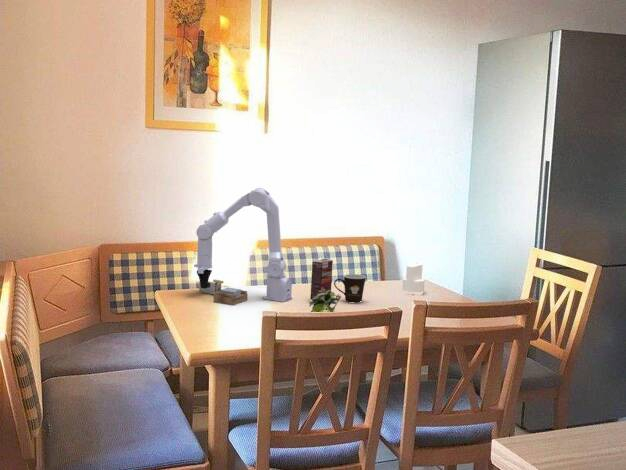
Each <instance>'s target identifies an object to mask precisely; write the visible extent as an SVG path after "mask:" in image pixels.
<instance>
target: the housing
mask: <svg viewBox="0 0 626 470" xmlns="http://www.w3.org/2000/svg"><path fill="white" fill-rule="evenodd" d="M248 297H249V296H248V291H247V290H242V289H241V295H238V296H236V295H234V294H227V293H221V292H214V294H213V301H212V302H213V303H216V304H224V305H228V306H237V305H238V304H241V303H244V302H246V301H248Z"/></svg>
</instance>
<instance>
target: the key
mask: <svg viewBox="0 0 626 470" xmlns="http://www.w3.org/2000/svg"><path fill="white" fill-rule="evenodd" d="M222 284H224V280H220V279H213V280H212V281H209V280H208V285H207V288H206V289H205V288H201V286H200V280H199V284H198V285H199V286H198V291H199V293H204V294H211V295H214V292H221V290H222Z"/></svg>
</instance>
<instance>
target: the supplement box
mask: <svg viewBox="0 0 626 470" xmlns="http://www.w3.org/2000/svg"><path fill="white" fill-rule="evenodd" d="M333 263H334V261H333V259H326V258H322V259H318V260H312V263H311V264H312V265H311V282H310V296H309V297H310V298H309V300H312V299H313V298H315V296H317V295H318V294H317V291H318V290H319V291H321V290H322V289H324V290H327V291H328V290H331V291H332V281H333V280H332V278H333Z"/></svg>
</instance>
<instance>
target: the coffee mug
mask: <svg viewBox="0 0 626 470" xmlns="http://www.w3.org/2000/svg"><path fill="white" fill-rule="evenodd" d="M338 281H341V282H342V283H343V284H342V285H344V291H343V290H341V289H340V288H338V286H337V285H336V283H337V282H338ZM365 283H366V276H365V275H362V274H354V273H353V274H352V273H349V274H344V275H343V279H341V278H336V279H335V280H334V282H333V285H334V287H335V289H336V290H337V291H339V292H340V293H342V294H343V296H344V299H345V300H346V301H348V302H347V303H349V302H360V301H362V300H363V295H364V291H365V290H364V288H365ZM346 301H345V302H346Z"/></svg>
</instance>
